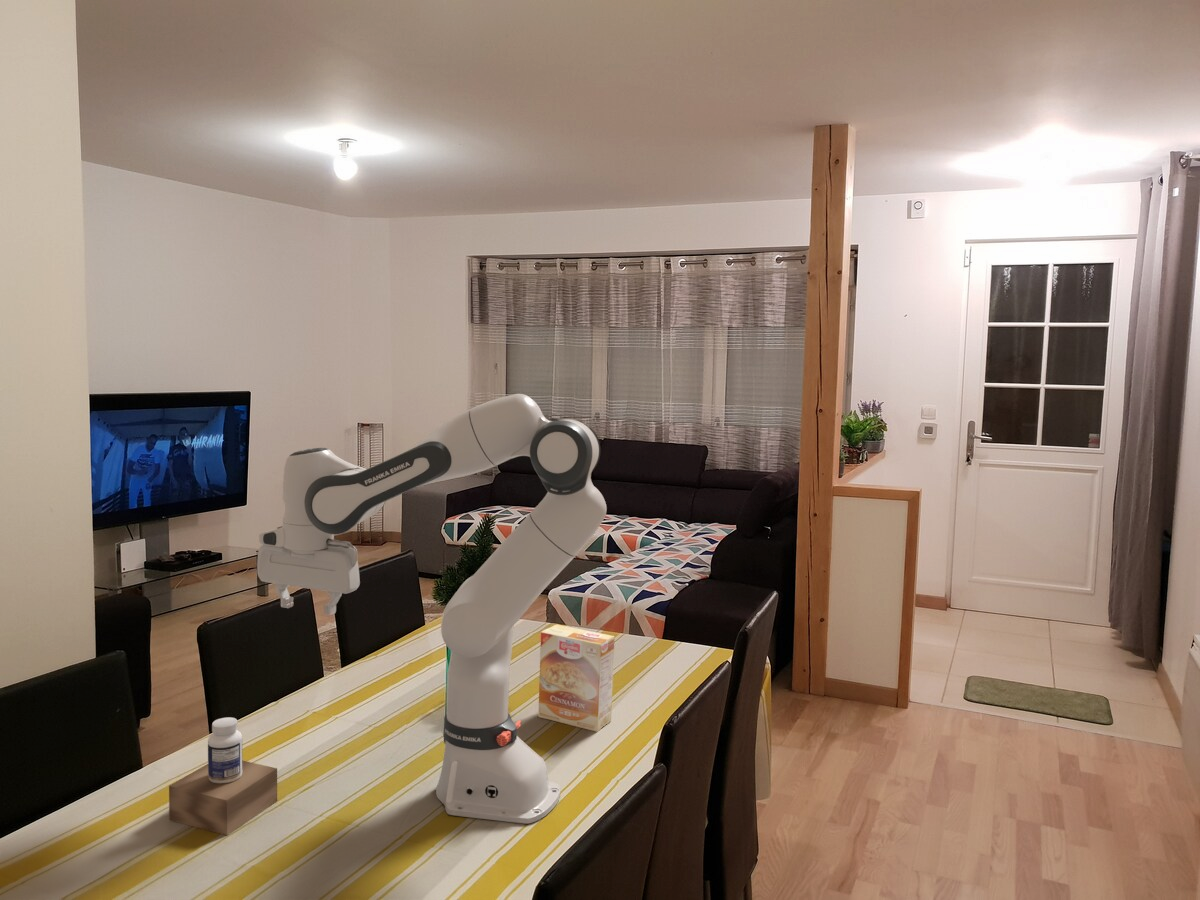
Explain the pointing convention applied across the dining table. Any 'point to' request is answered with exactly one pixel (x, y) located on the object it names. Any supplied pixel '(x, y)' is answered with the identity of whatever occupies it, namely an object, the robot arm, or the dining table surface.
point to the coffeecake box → (576, 677)
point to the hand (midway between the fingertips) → (308, 610)
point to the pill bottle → (225, 751)
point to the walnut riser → (222, 798)
